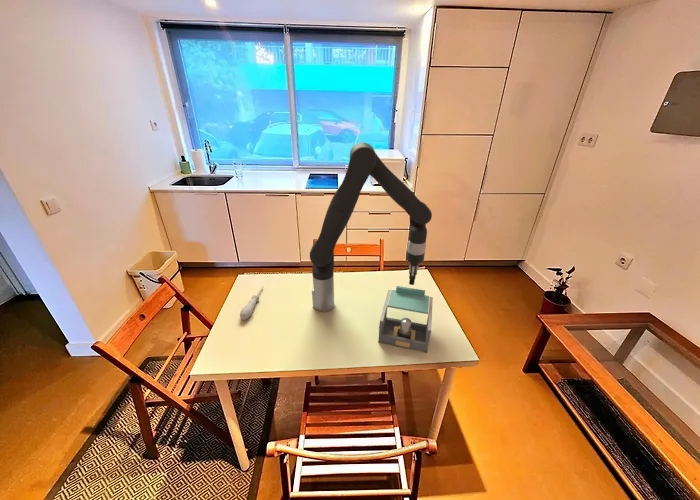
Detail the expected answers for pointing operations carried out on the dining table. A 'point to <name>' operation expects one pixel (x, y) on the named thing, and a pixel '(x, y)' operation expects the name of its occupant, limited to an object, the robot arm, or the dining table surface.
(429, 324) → the housing
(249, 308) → the screwdriver
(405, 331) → the pin
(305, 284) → the dining table surface
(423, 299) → the lid
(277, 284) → the dining table surface
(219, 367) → the dining table surface
